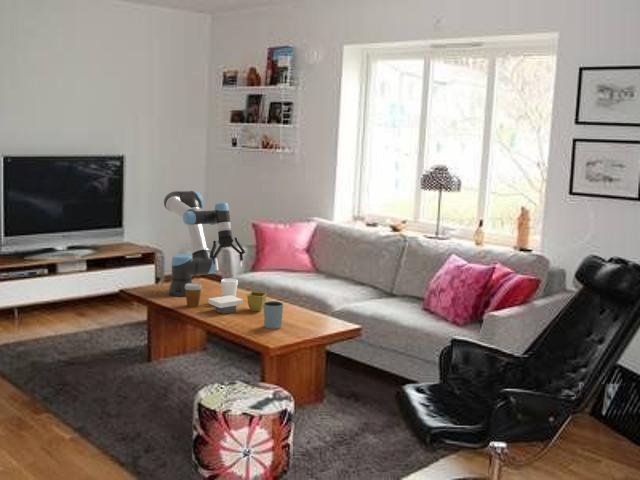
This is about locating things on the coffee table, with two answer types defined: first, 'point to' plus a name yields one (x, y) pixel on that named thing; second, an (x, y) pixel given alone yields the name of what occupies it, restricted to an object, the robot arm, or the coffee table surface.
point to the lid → (225, 301)
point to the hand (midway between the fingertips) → (229, 268)
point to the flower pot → (256, 300)
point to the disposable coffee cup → (193, 294)
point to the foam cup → (229, 287)
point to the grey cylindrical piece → (273, 314)
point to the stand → (226, 309)
